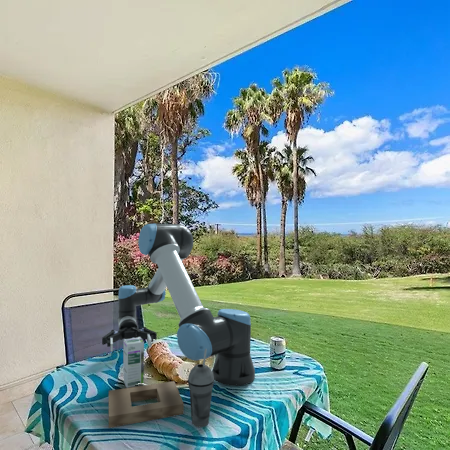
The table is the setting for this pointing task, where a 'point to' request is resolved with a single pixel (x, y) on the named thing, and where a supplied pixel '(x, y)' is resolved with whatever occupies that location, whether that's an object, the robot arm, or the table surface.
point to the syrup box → (133, 361)
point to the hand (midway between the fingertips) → (131, 345)
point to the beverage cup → (200, 393)
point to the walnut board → (165, 406)
